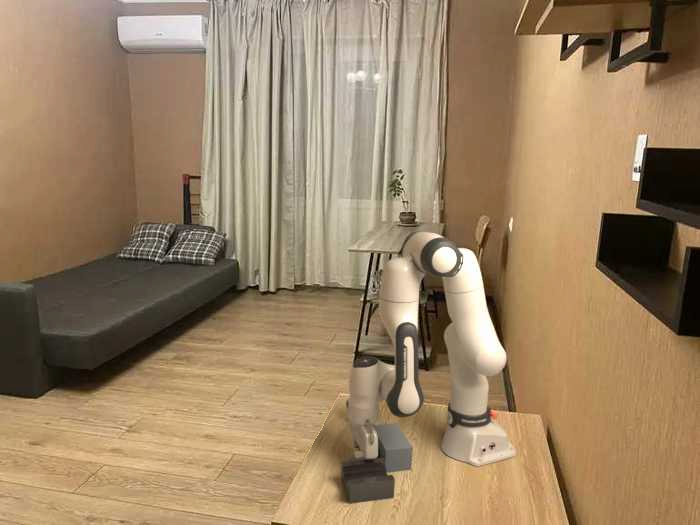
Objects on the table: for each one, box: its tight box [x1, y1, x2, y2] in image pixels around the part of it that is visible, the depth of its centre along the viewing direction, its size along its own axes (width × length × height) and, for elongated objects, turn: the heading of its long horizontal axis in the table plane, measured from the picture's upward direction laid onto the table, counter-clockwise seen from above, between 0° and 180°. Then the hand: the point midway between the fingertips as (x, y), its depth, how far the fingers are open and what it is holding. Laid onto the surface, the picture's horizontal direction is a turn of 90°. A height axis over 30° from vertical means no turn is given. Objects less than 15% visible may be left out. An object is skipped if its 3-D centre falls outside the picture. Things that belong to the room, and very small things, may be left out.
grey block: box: [373, 422, 413, 474], centre depth 155 cm, size 8×14×7 cm, turn 14°
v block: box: [340, 458, 396, 504], centre depth 140 cm, size 12×10×6 cm
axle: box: [352, 449, 380, 461], centre depth 155 cm, size 12×3×3 cm, turn 104°
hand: (361, 455), depth 154 cm, fingers open, 8 cm apart
